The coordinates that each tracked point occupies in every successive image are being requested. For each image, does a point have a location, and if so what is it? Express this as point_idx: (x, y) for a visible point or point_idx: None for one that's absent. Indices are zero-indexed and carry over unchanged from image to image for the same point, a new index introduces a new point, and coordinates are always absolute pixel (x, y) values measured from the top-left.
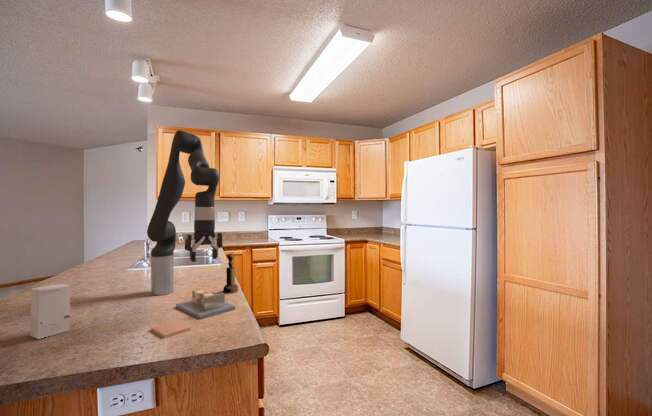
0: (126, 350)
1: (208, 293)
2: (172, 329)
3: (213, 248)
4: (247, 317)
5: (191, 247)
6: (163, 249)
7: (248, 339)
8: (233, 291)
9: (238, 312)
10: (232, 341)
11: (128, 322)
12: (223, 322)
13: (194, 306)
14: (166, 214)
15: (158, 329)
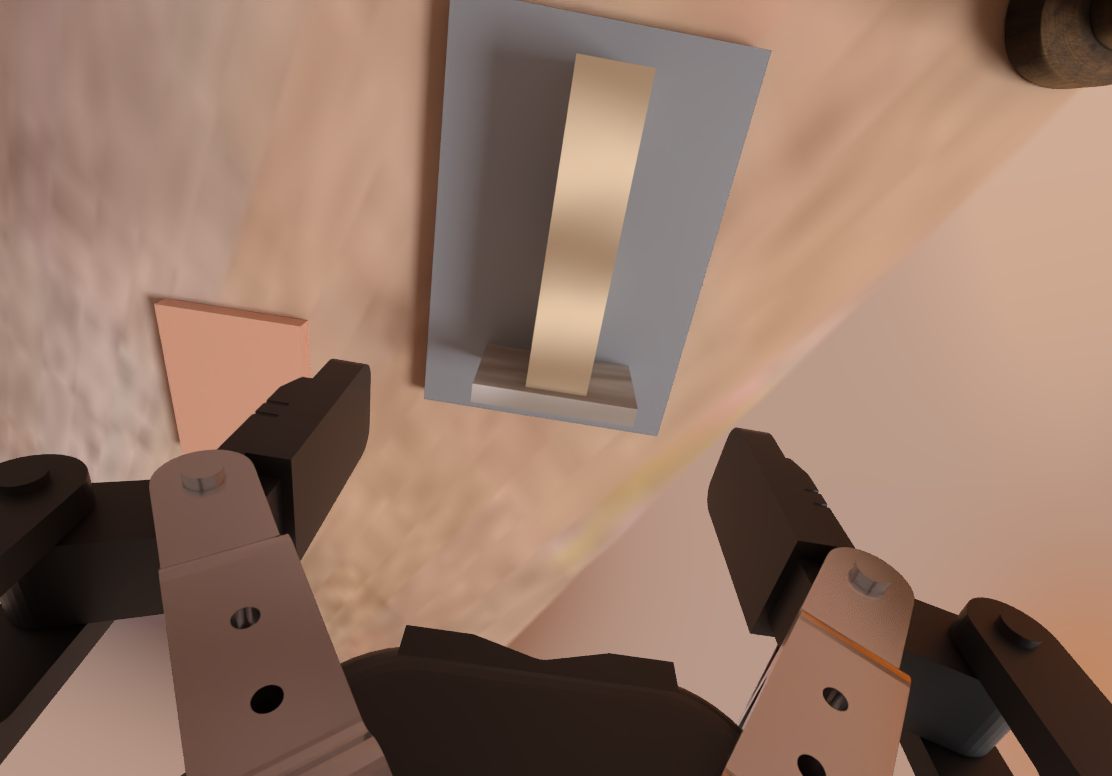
0: (31, 424)
1: (591, 290)
2: (234, 426)
3: (802, 592)
4: (587, 552)
5: (166, 548)
6: None
7: None
8: (1041, 82)
9: (621, 473)
10: (377, 649)
11: (63, 21)
12: (474, 510)
13: (507, 203)
14: None
15: (178, 370)
